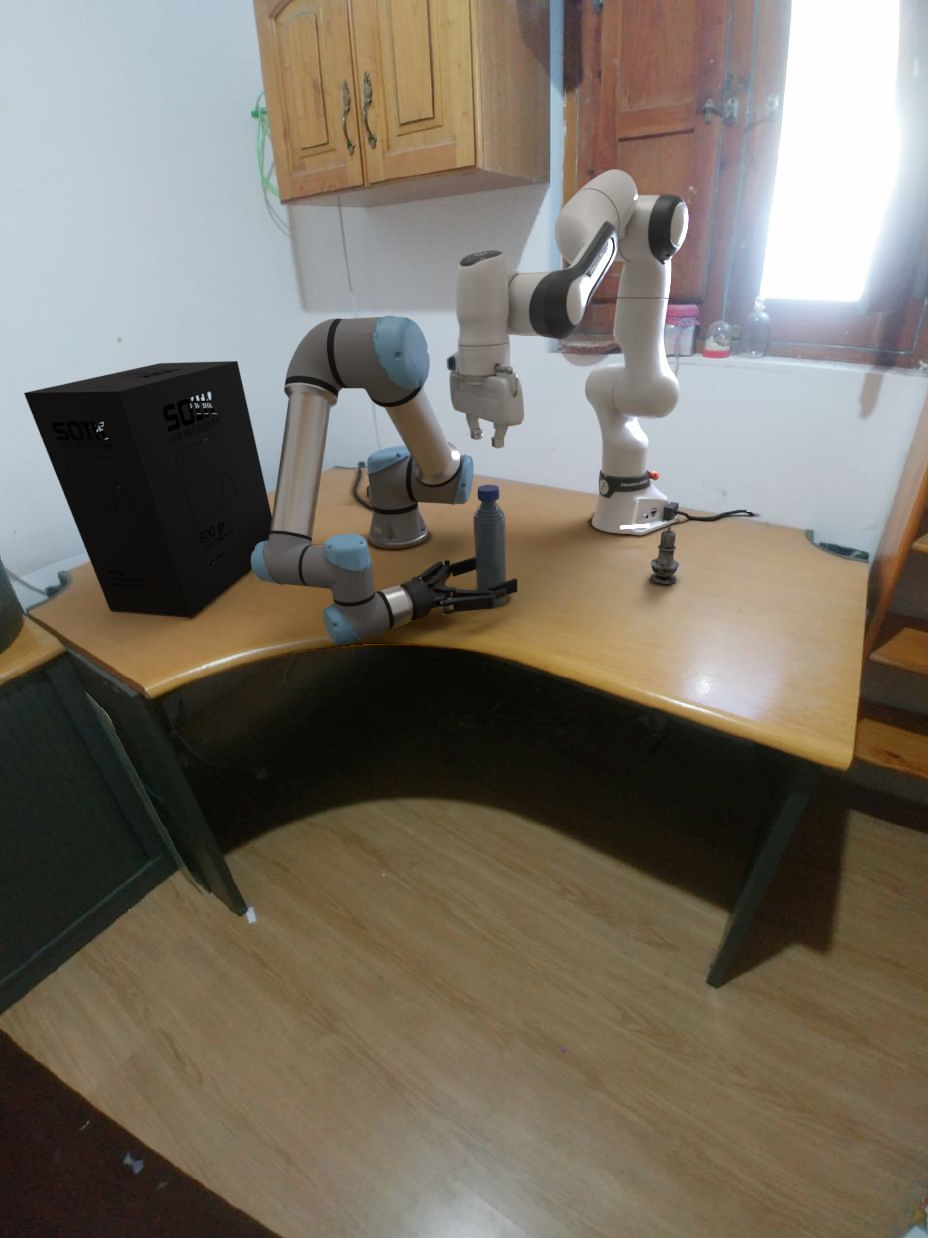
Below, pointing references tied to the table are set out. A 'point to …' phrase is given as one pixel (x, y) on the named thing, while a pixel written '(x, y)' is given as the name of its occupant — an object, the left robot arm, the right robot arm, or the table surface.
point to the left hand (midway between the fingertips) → (496, 573)
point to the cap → (488, 493)
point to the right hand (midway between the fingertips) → (486, 443)
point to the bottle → (490, 547)
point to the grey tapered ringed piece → (665, 559)
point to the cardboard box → (159, 480)
